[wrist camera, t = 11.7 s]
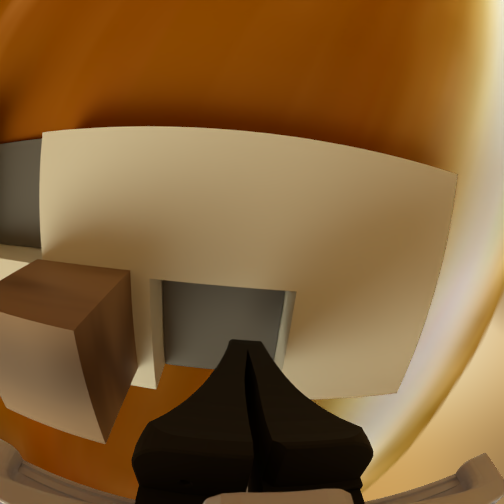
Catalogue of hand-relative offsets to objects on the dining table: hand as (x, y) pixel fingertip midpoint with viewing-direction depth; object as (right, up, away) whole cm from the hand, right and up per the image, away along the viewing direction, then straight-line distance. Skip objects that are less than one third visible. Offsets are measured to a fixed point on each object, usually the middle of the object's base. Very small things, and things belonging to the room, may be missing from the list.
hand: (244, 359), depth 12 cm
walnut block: (-7, +2, 0) cm, 8 cm away
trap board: (-6, +4, +2) cm, 8 cm away
